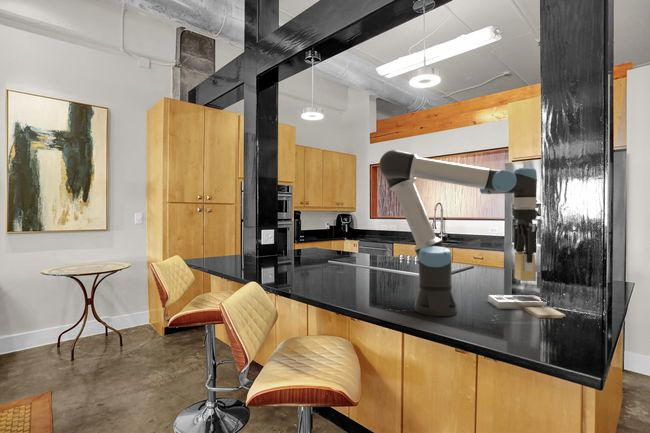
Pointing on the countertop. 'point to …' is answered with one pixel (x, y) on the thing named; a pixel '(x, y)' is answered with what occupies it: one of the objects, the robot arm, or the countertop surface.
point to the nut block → (519, 268)
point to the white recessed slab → (515, 301)
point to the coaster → (544, 312)
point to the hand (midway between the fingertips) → (524, 269)
